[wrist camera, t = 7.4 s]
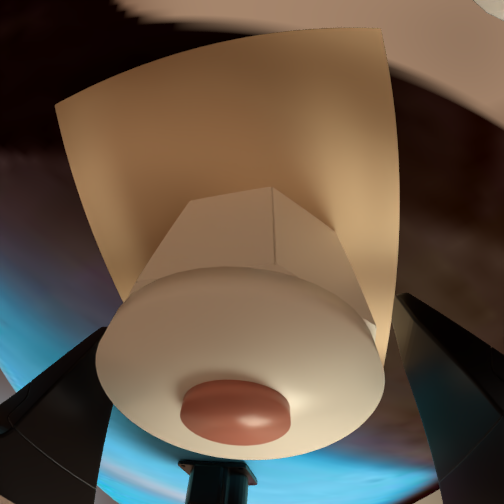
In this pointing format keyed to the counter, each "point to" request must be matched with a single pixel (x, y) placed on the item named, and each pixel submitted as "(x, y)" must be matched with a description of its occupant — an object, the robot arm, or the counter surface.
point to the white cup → (492, 7)
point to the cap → (244, 334)
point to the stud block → (245, 146)
